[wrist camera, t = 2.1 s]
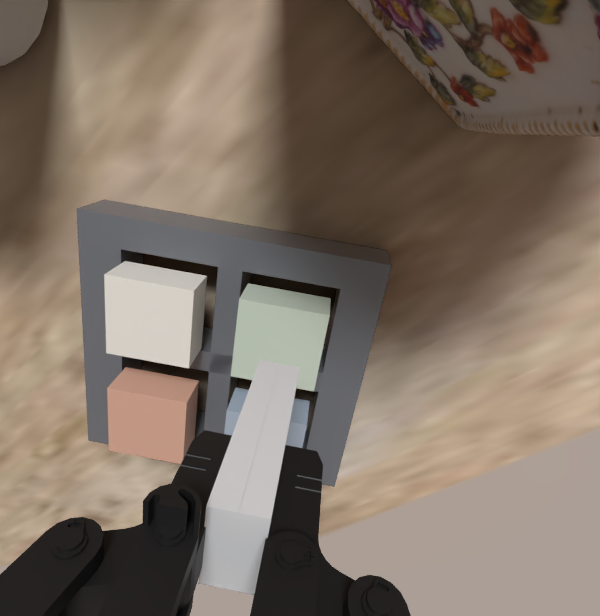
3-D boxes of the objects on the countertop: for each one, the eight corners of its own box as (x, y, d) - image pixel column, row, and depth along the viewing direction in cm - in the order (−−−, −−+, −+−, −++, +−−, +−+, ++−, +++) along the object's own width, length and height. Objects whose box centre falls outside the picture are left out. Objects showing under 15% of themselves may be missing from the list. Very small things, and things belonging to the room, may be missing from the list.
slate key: (233, 432, 26) (219, 471, 23) (240, 375, 24) (226, 410, 21) (299, 444, 26) (294, 485, 23) (310, 388, 24) (306, 425, 21)
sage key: (244, 344, 23) (230, 376, 20) (252, 275, 22) (239, 299, 19) (317, 358, 23) (314, 391, 20) (330, 289, 21) (329, 315, 19)
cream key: (135, 324, 23) (106, 353, 20) (135, 254, 22) (104, 274, 19) (207, 338, 23) (188, 368, 20) (213, 268, 22) (193, 290, 19)
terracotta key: (134, 413, 26) (108, 450, 23) (135, 356, 24) (107, 388, 21) (200, 425, 26) (182, 464, 23) (205, 369, 24) (186, 402, 21)
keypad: (109, 413, 28) (88, 440, 26) (104, 199, 23) (76, 208, 20) (334, 455, 28) (334, 486, 26) (386, 250, 22) (391, 265, 20)
